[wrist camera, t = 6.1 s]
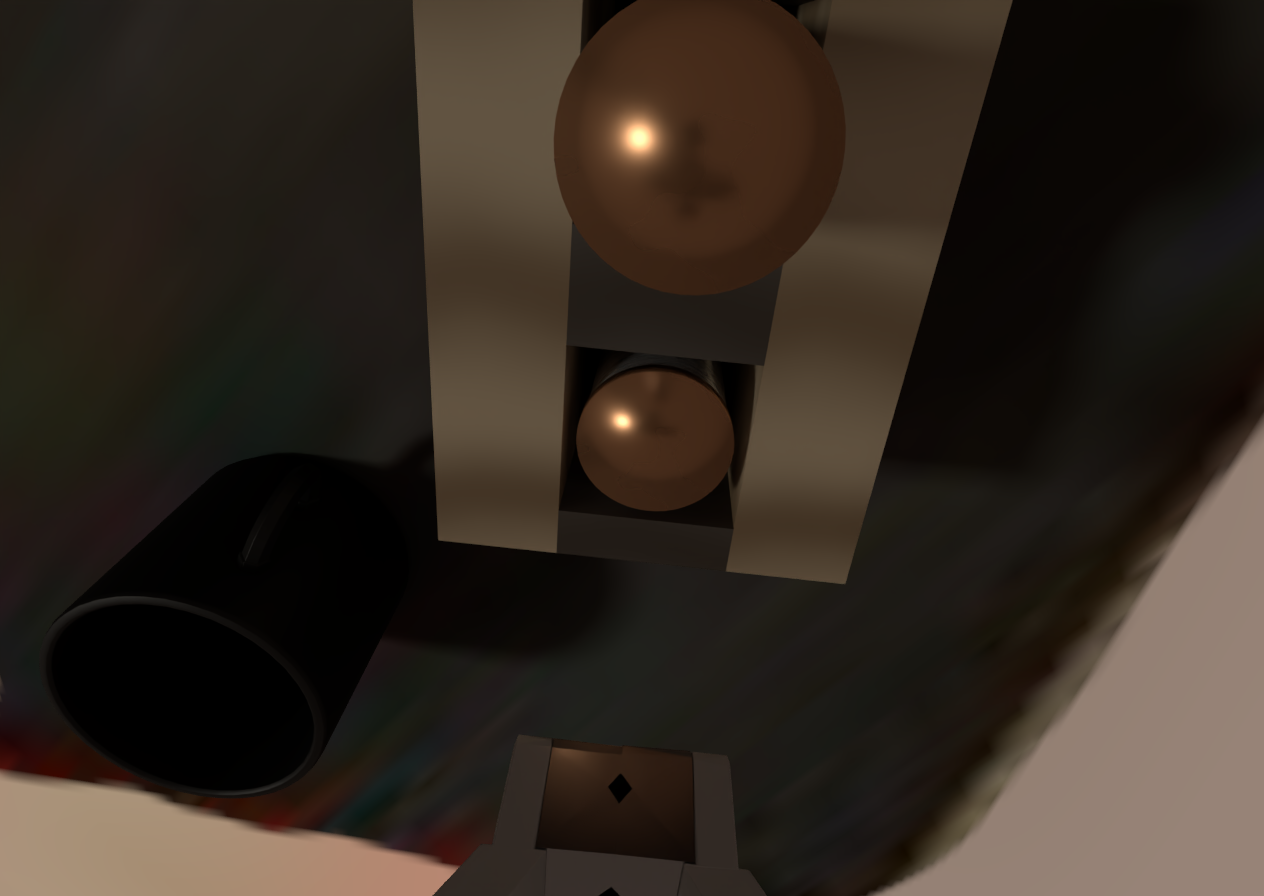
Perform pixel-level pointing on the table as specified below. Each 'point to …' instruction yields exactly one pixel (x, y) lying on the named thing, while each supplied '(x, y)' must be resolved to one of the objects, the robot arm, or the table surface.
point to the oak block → (671, 323)
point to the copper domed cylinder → (699, 142)
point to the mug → (231, 630)
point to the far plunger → (655, 430)
